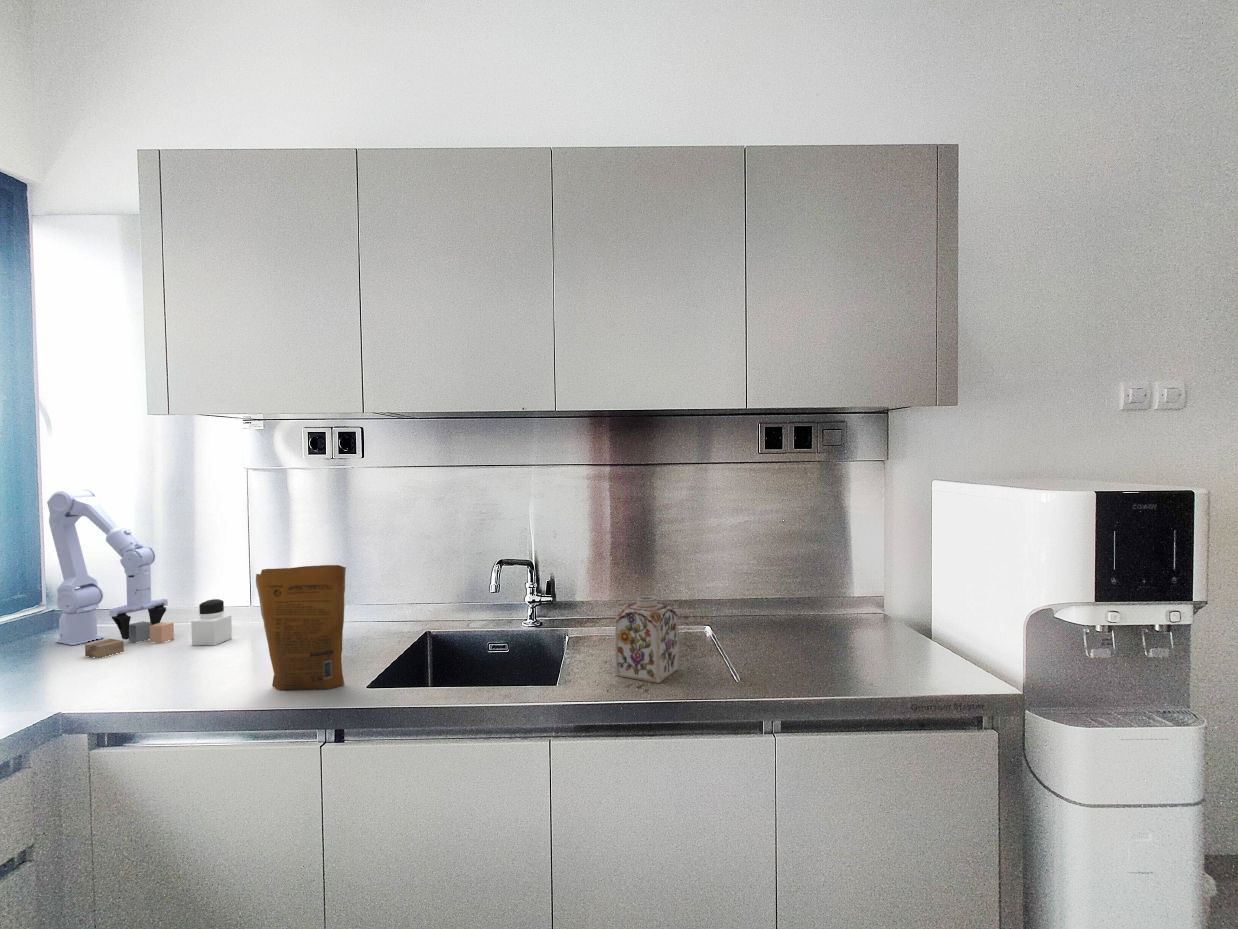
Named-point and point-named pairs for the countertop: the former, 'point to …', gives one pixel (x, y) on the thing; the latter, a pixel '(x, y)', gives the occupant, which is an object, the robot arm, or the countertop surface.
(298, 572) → the pancake mix bag
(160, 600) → the robot arm
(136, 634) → the slate block
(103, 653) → the walnut block
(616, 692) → the countertop surface
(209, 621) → the medicine bottle
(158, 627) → the terracotta block
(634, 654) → the decorative jar
